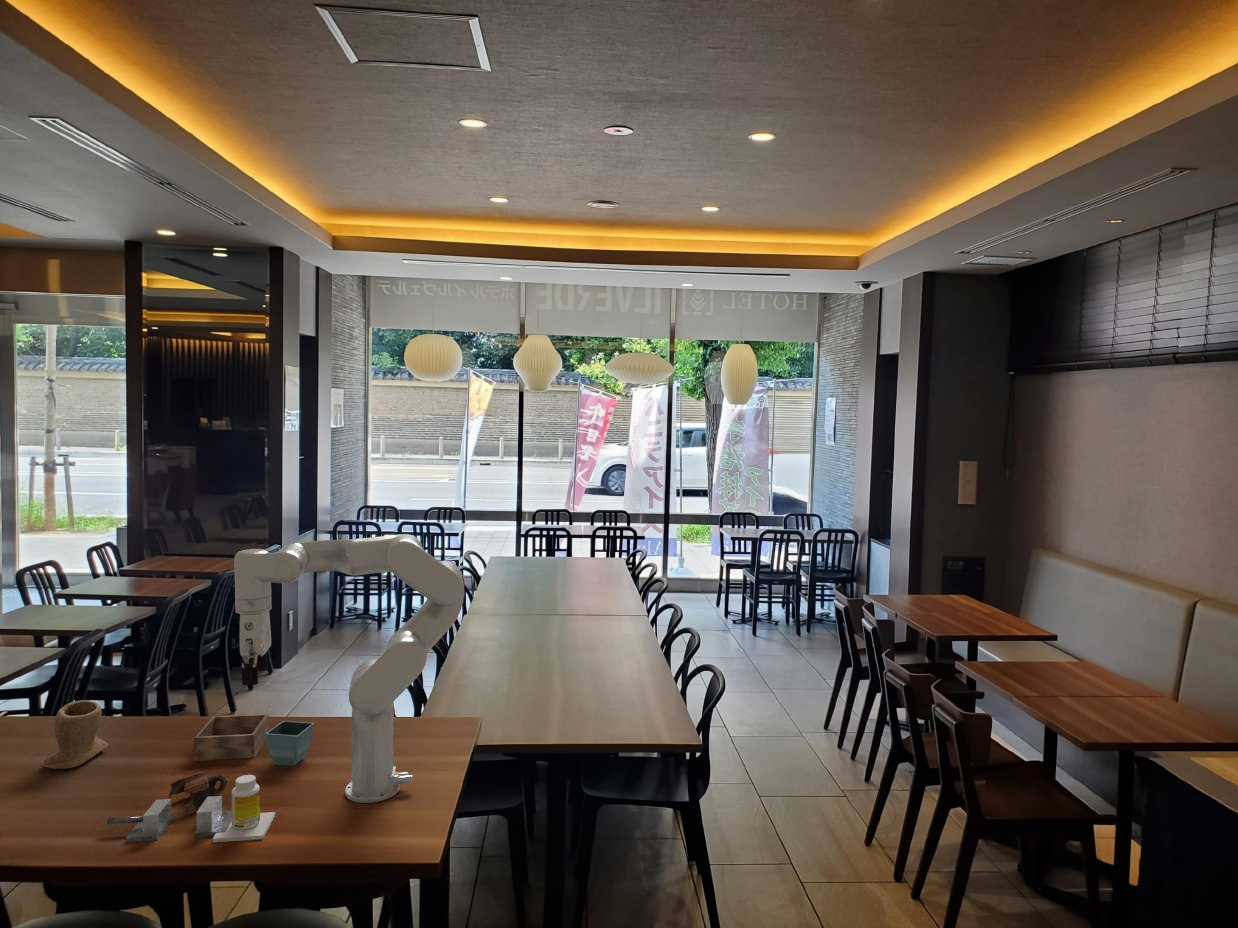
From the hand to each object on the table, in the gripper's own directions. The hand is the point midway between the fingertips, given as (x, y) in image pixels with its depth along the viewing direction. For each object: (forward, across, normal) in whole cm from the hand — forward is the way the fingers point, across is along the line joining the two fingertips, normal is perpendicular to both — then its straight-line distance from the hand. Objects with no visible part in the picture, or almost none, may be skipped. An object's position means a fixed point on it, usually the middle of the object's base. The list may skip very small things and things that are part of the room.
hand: (255, 677), depth 184 cm
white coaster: (+30, -12, 0) cm, 32 cm away
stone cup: (+29, +31, +49) cm, 65 cm away
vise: (+29, -9, +16) cm, 35 cm away
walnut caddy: (+29, +32, +13) cm, 46 cm away
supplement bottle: (+29, -12, 0) cm, 31 cm away
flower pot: (+30, +21, -3) cm, 36 cm away
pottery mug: (+30, +2, +13) cm, 32 cm away
